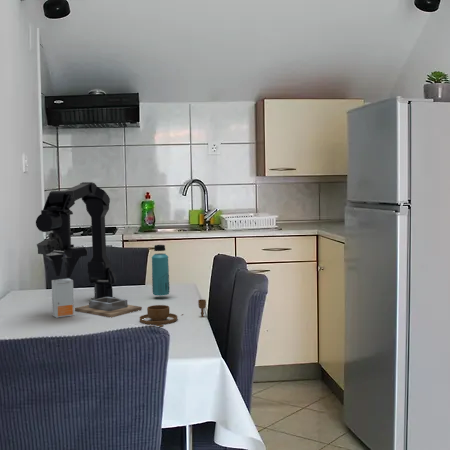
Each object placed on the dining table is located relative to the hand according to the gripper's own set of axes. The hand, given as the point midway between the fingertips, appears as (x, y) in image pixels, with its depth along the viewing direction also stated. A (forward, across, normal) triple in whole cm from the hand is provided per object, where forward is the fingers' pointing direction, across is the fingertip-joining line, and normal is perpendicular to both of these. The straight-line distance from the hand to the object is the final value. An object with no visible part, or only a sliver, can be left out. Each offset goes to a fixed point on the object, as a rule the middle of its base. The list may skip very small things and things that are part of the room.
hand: (63, 276), depth 200 cm
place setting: (+14, +34, +15) cm, 40 cm away
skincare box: (+13, 0, 0) cm, 13 cm away
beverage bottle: (+13, +6, +40) cm, 42 cm away
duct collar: (+13, +6, +14) cm, 20 cm away
